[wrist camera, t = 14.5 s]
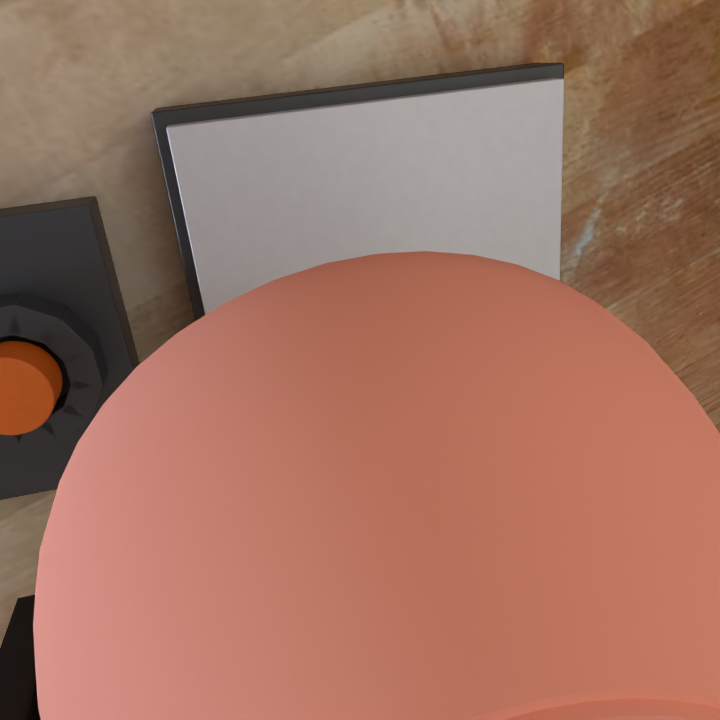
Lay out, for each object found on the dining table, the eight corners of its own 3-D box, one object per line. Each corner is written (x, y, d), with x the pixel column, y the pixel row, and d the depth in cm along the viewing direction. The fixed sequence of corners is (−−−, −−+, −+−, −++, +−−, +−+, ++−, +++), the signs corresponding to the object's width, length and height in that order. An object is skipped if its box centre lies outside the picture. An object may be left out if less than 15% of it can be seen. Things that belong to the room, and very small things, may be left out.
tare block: (-118, 224, 26) (-161, 246, 23) (96, 195, 28) (81, 212, 24) (-16, 481, 31) (-40, 528, 28) (161, 448, 33) (156, 489, 29)
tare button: (-39, 347, 26) (-55, 366, 24) (49, 333, 26) (39, 350, 25) (-11, 421, 27) (-25, 443, 26) (72, 406, 28) (64, 427, 26)
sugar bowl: (517, 98, 12) (1392, 202, 3) (692, 590, 18) (1165, 1114, 9) (-68, 420, 13) (-822, 1376, 3) (295, 800, 19) (372, 1511, 10)
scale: (154, 108, 27) (147, 114, 24) (537, 62, 29) (577, 62, 26) (235, 487, 34) (238, 530, 31) (534, 427, 36) (565, 461, 33)
